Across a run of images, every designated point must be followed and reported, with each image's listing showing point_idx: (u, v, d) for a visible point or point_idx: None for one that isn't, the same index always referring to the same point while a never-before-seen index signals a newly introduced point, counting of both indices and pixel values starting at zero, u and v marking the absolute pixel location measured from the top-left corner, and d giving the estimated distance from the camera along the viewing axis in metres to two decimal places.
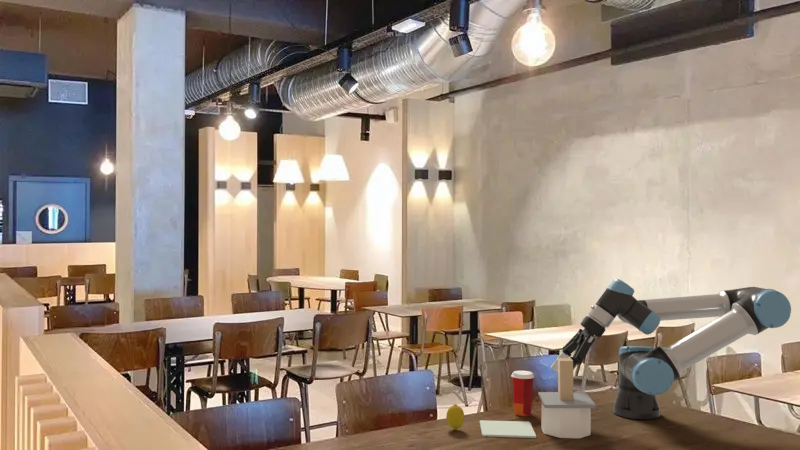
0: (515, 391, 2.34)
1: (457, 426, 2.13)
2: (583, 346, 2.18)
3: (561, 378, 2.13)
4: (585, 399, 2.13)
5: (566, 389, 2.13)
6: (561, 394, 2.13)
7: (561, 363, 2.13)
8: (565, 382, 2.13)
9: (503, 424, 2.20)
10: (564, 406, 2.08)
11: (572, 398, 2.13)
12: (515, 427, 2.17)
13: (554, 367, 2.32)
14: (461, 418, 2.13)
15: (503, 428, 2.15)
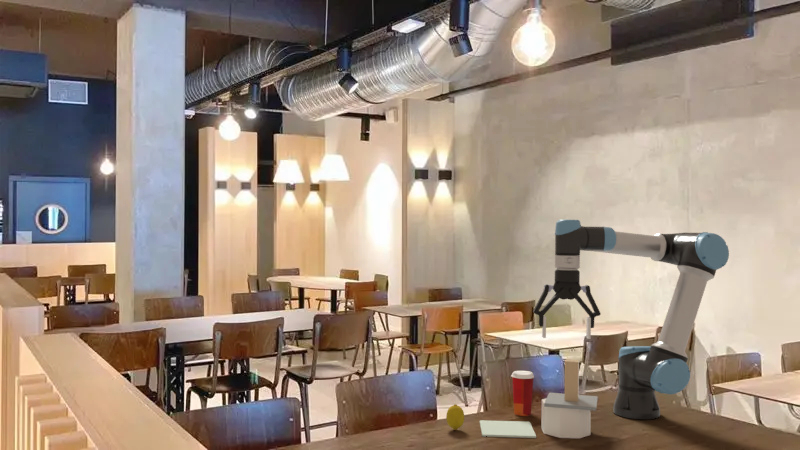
0: (515, 391, 2.34)
1: (457, 426, 2.13)
2: None
3: (566, 379, 2.13)
4: (590, 402, 2.11)
5: (571, 390, 2.12)
6: (565, 395, 2.13)
7: (566, 364, 2.13)
8: (570, 383, 2.13)
9: (503, 424, 2.20)
10: (564, 406, 2.08)
11: (576, 400, 2.12)
12: (515, 427, 2.17)
13: None
14: (461, 418, 2.13)
15: (503, 428, 2.15)
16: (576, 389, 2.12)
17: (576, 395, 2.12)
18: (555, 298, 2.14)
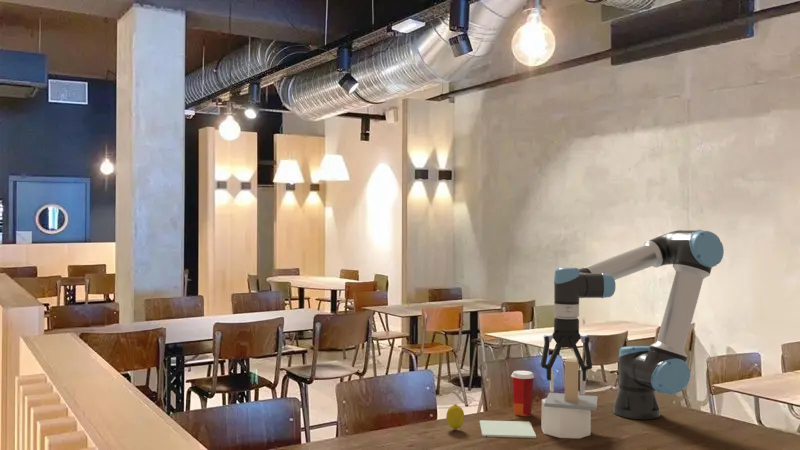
0: (515, 391, 2.34)
1: (457, 426, 2.13)
2: (589, 351, 2.14)
3: (566, 379, 2.13)
4: (590, 402, 2.11)
5: (571, 390, 2.12)
6: (565, 395, 2.13)
7: (566, 364, 2.13)
8: (570, 383, 2.13)
9: (503, 424, 2.20)
10: (564, 406, 2.08)
11: (576, 400, 2.12)
12: (515, 427, 2.17)
13: None
14: (461, 418, 2.13)
15: (503, 428, 2.15)
16: (576, 389, 2.12)
17: (576, 395, 2.12)
18: (557, 349, 2.14)
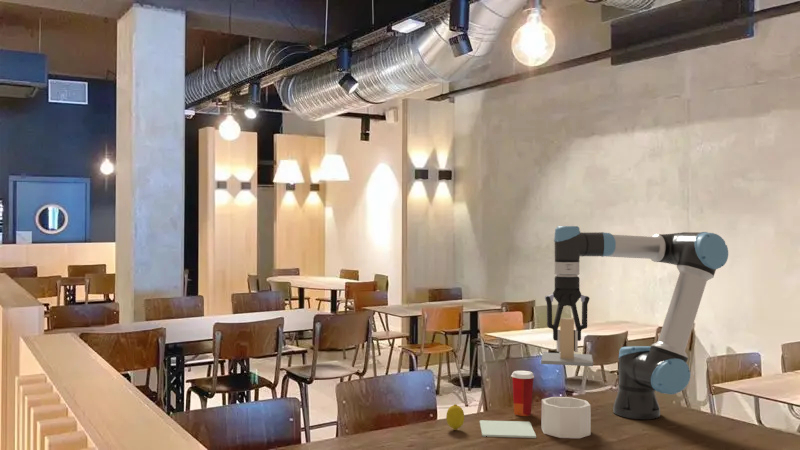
0: (515, 391, 2.34)
1: (457, 426, 2.13)
2: None
3: (561, 336, 2.13)
4: (586, 359, 2.12)
5: (566, 347, 2.13)
6: (561, 352, 2.13)
7: (562, 321, 2.13)
8: (566, 341, 2.13)
9: (503, 424, 2.20)
10: (561, 363, 2.08)
11: (572, 357, 2.12)
12: (515, 427, 2.17)
13: None
14: (461, 418, 2.13)
15: (503, 428, 2.15)
16: (572, 346, 2.12)
17: (572, 352, 2.12)
18: (560, 307, 2.14)
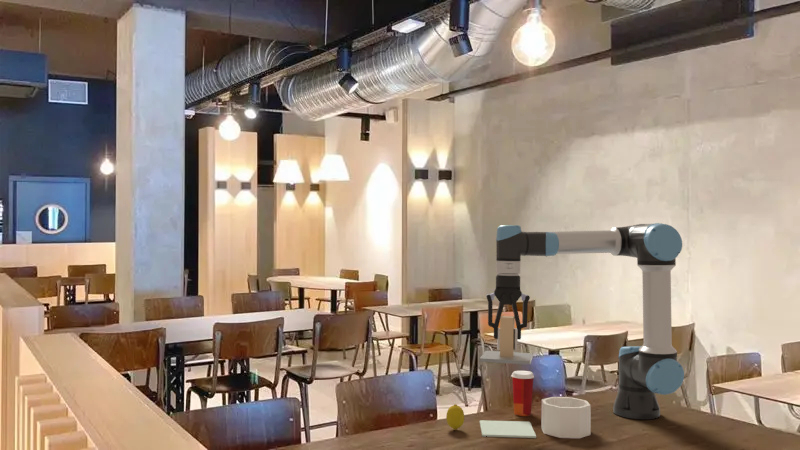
0: (515, 391, 2.34)
1: (457, 426, 2.13)
2: None
3: (501, 335, 2.14)
4: (525, 357, 2.13)
5: (506, 346, 2.14)
6: (501, 350, 2.14)
7: (501, 320, 2.14)
8: (505, 339, 2.14)
9: (503, 424, 2.20)
10: (499, 361, 2.09)
11: (511, 355, 2.13)
12: (515, 427, 2.17)
13: (499, 347, 2.16)
14: (461, 418, 2.13)
15: (503, 428, 2.15)
16: (511, 345, 2.13)
17: (511, 351, 2.13)
18: (500, 306, 2.15)
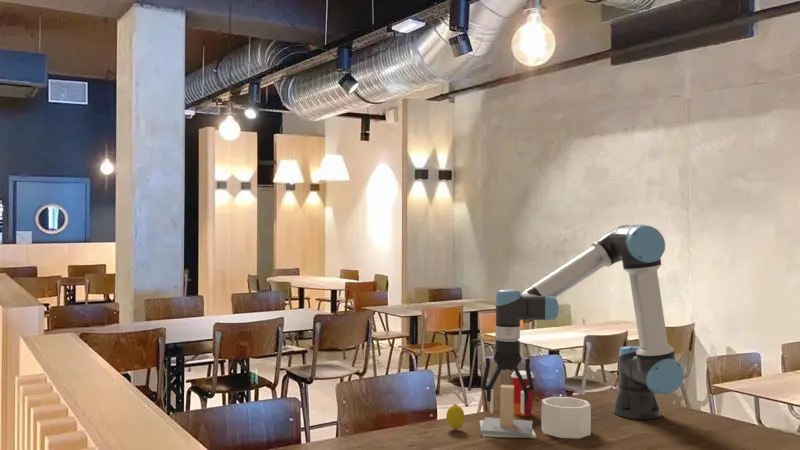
0: (515, 391, 2.34)
1: (457, 426, 2.13)
2: (530, 372, 2.15)
3: (501, 405, 2.14)
4: (525, 427, 2.13)
5: (506, 416, 2.13)
6: (501, 421, 2.14)
7: (501, 390, 2.14)
8: (505, 409, 2.14)
9: None
10: (499, 433, 2.08)
11: (512, 425, 2.13)
12: None
13: (492, 409, 2.16)
14: (461, 418, 2.13)
15: None
16: (511, 415, 2.13)
17: (511, 421, 2.13)
18: (498, 370, 2.15)
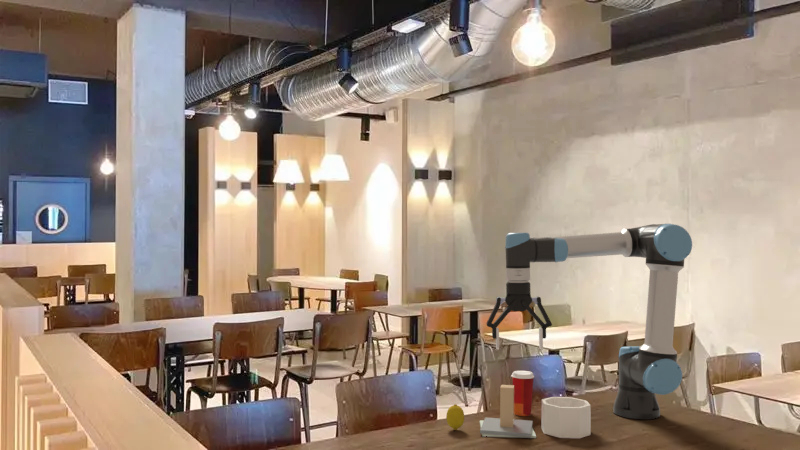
0: (515, 391, 2.34)
1: (457, 426, 2.13)
2: None
3: (501, 405, 2.14)
4: (525, 427, 2.13)
5: (506, 416, 2.13)
6: (501, 421, 2.14)
7: (501, 390, 2.14)
8: (505, 409, 2.14)
9: None
10: (499, 433, 2.08)
11: (512, 425, 2.13)
12: None
13: (498, 346, 2.19)
14: (461, 418, 2.13)
15: None
16: (511, 415, 2.13)
17: (511, 421, 2.13)
18: (507, 310, 2.18)
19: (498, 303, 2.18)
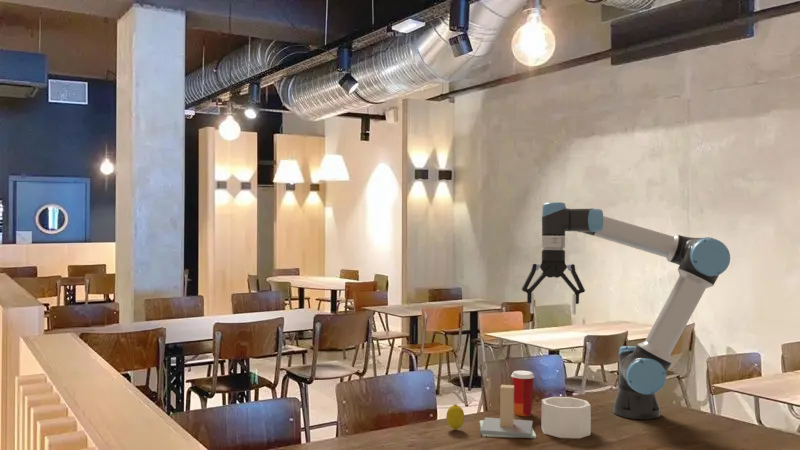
0: (515, 391, 2.34)
1: (457, 426, 2.13)
2: None
3: (501, 405, 2.14)
4: (525, 427, 2.13)
5: (506, 416, 2.13)
6: (501, 421, 2.14)
7: (501, 390, 2.14)
8: (505, 409, 2.14)
9: None
10: (499, 433, 2.08)
11: (512, 425, 2.13)
12: None
13: None
14: (461, 418, 2.13)
15: None
16: (511, 415, 2.13)
17: (511, 421, 2.13)
18: (542, 276, 2.28)
19: (534, 269, 2.29)
